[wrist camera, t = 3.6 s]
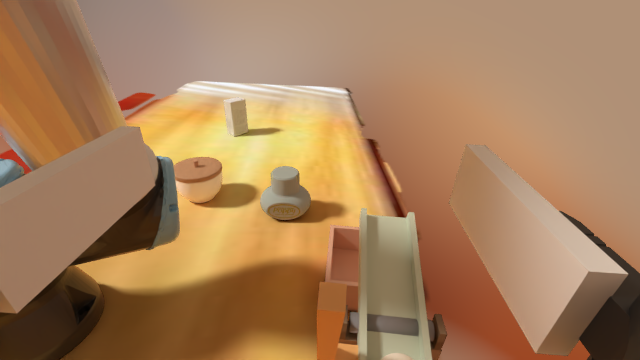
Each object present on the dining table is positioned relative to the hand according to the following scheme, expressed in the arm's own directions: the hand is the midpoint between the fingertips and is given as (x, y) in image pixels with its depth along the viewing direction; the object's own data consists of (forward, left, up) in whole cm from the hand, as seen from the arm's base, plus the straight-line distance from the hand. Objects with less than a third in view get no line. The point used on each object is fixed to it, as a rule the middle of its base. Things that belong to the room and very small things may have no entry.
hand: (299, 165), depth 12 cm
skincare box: (+52, +78, -34) cm, 100 cm away
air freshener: (+30, +32, -34) cm, 56 cm away
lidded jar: (+21, +51, -34) cm, 65 cm away
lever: (+12, +1, -22) cm, 26 cm away
